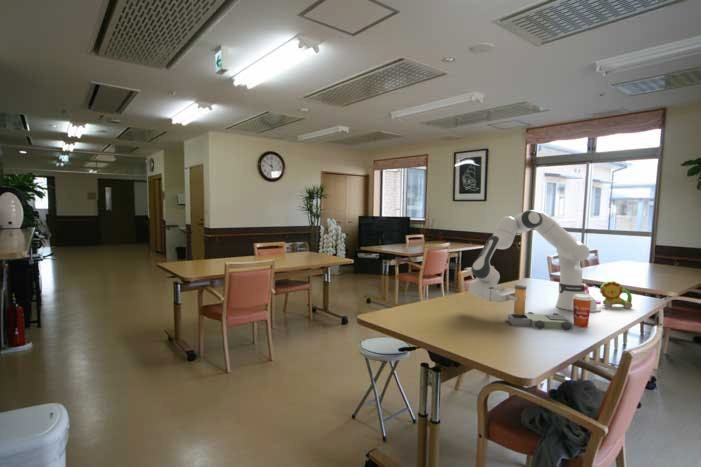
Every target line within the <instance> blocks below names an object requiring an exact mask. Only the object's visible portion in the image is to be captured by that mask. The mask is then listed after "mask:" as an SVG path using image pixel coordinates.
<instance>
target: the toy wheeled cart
mask: <svg viewBox="0 0 701 467" xmlns="http://www.w3.org/2000/svg"><path fill="white" fill-rule="evenodd" d="M525 314H526V315H528V316H529V317H530V318H531V319H532V324H531V326H530V327H531V328H533V329H538V330H542V329H546V330H547V329H549V330H550V329H552V330H564V331H567V330H568V331H573V330H574V321H571V320H570V319H568V318H567V317H566V316H565V315H561V314H558V313H556V312H554V313H552V314H544V313H543V314H542V313H534V312H532V311H528V312H527V313H526V312H525Z"/></svg>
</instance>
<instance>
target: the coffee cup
mask: <svg viewBox="0 0 701 467" xmlns="http://www.w3.org/2000/svg"><path fill="white" fill-rule="evenodd" d="M591 300H592V299H591V295H590V296H588V295H583V294H574V296H573V311H572V312H573V326H575V325H576V326H575V327H578V326H579V328H588V326H589V321H590V320H589V319H590V314H591V313H590V305H591Z"/></svg>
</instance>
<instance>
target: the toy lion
mask: <svg viewBox="0 0 701 467" xmlns="http://www.w3.org/2000/svg"><path fill="white" fill-rule="evenodd" d="M599 292H600V294H601V296H602V297H603V298H605V299H603V301H602V304H603V305H604V306H606V307H607V308H611V307H612V306H614V305H621V306H622V307H624V308H626V309H631V308H632V307H633V304H632V301H633V300H632V299H633V298H632V297H633V296H632V293H630V291H628V290H627V289H625V288H624V287H623V286H622V285H621V284H620V283H619V282H616V281H614V280H612V281H606V282H602V285H600V290H599ZM622 294H626V295H627V298H626V300H625V299H624V298H622V297H620V296H621V295H622Z"/></svg>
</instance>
